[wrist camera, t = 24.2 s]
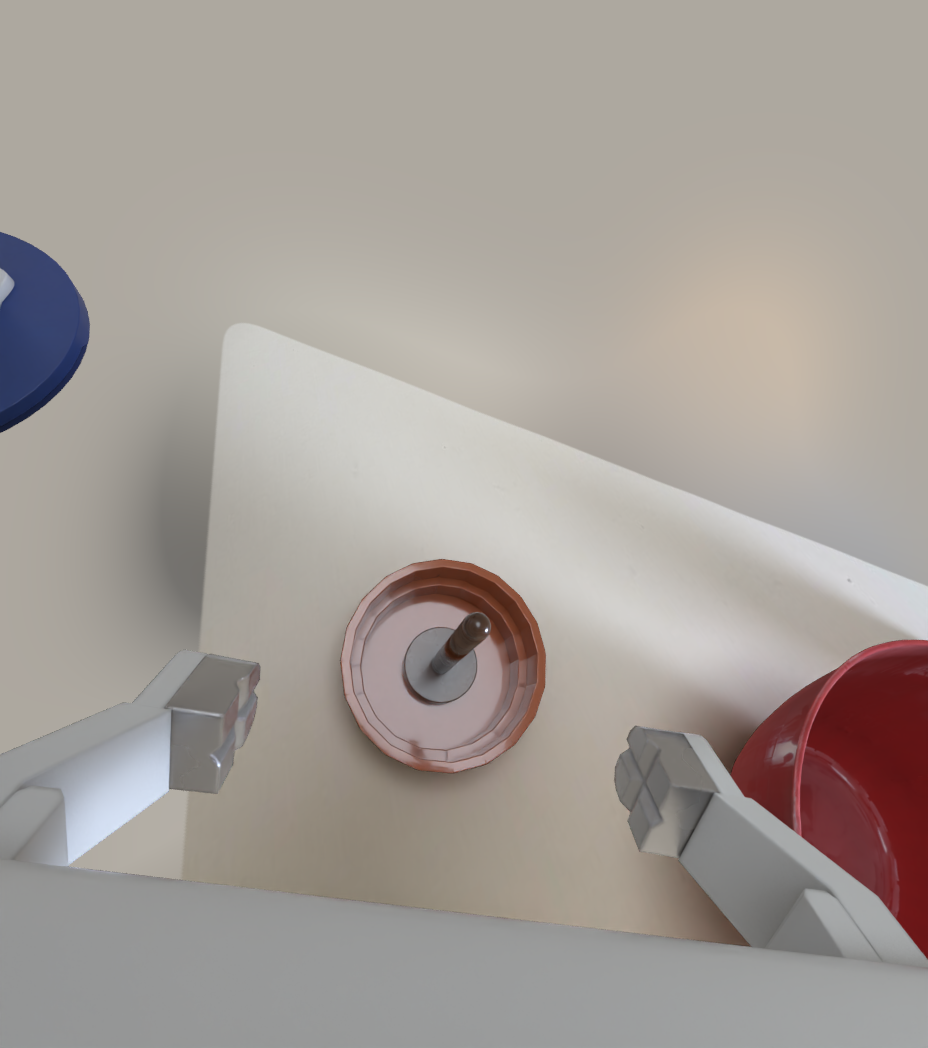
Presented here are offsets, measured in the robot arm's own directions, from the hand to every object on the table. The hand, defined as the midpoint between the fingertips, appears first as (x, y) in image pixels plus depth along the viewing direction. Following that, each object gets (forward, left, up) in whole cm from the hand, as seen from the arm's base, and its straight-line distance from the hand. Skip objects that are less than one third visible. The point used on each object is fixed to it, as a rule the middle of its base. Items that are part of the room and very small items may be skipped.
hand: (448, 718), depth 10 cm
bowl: (-1, +6, -31) cm, 32 cm away
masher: (-1, +6, -31) cm, 31 cm away
